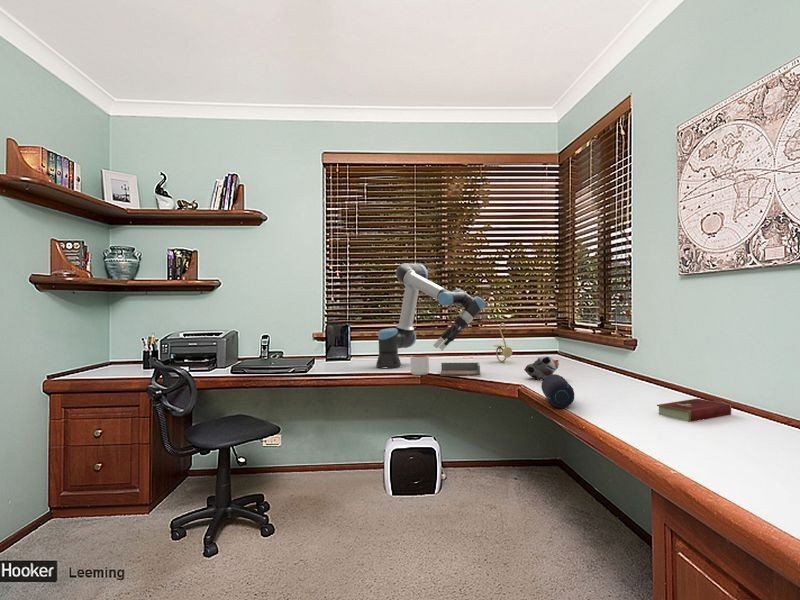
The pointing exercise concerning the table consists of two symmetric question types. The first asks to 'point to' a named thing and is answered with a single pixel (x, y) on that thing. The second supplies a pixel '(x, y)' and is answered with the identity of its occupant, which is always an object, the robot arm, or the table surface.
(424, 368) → the cup
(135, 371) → the table surface
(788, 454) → the table surface
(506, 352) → the wall sconce
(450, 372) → the pen base
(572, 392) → the portable speaker
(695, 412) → the hardcover book
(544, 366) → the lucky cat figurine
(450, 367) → the pen walls
